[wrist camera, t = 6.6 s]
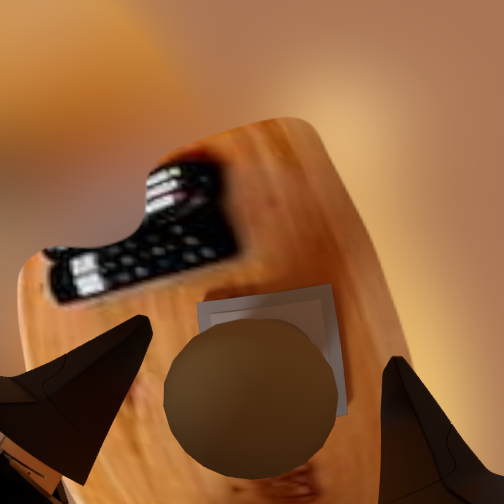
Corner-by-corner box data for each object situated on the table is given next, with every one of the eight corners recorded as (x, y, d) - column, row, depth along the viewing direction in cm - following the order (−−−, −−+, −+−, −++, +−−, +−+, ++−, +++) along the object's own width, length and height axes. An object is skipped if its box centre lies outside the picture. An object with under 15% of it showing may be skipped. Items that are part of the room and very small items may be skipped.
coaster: (344, 410, 15) (348, 414, 14) (216, 424, 16) (212, 429, 15) (328, 285, 18) (331, 283, 17) (201, 304, 19) (196, 302, 18)
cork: (326, 328, 16) (390, 322, 6) (304, 416, 15) (323, 519, 4) (234, 309, 17) (157, 273, 7) (213, 395, 16) (120, 463, 5)
